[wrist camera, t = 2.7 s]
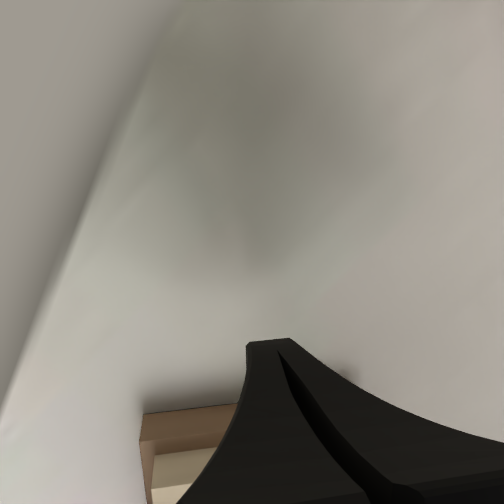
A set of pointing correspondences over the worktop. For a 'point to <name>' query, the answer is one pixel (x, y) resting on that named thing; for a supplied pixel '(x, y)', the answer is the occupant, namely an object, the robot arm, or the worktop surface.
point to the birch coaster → (177, 473)
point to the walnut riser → (181, 434)
